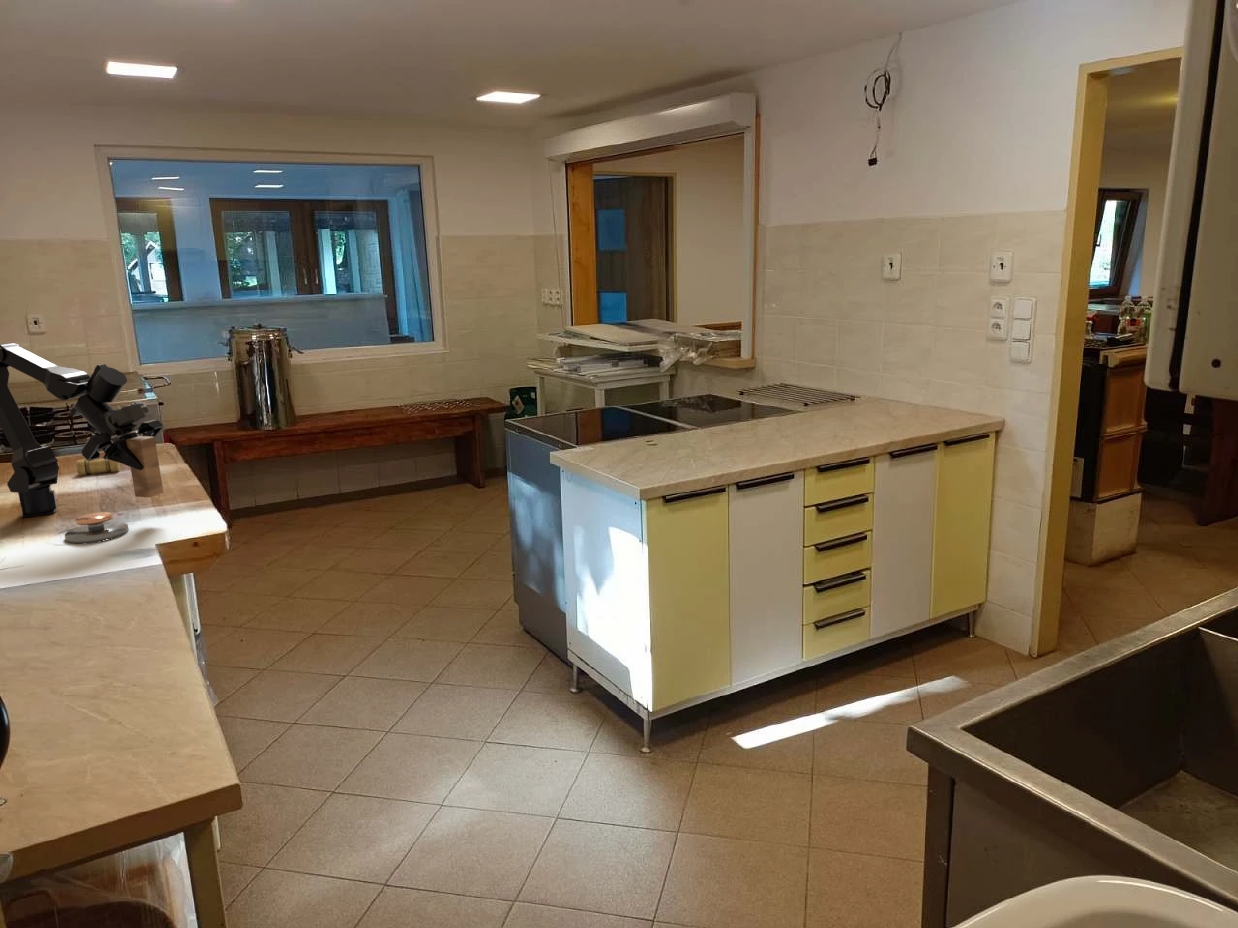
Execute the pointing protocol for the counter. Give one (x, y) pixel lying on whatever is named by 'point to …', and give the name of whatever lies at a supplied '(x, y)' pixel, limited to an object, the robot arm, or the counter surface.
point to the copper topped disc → (95, 528)
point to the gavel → (96, 466)
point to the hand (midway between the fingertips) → (149, 466)
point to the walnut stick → (145, 467)
